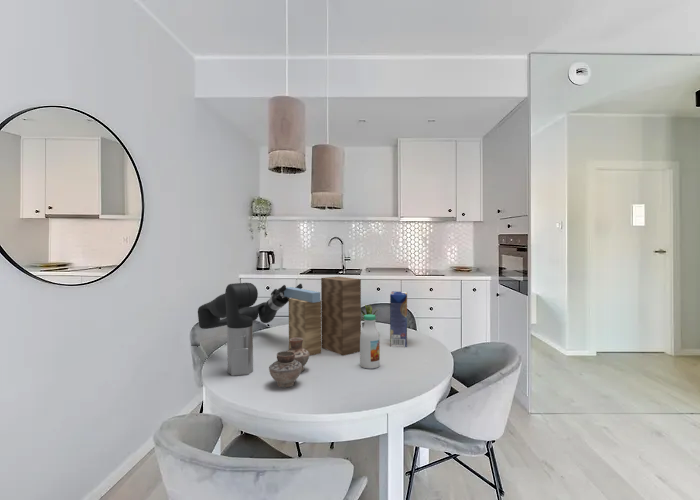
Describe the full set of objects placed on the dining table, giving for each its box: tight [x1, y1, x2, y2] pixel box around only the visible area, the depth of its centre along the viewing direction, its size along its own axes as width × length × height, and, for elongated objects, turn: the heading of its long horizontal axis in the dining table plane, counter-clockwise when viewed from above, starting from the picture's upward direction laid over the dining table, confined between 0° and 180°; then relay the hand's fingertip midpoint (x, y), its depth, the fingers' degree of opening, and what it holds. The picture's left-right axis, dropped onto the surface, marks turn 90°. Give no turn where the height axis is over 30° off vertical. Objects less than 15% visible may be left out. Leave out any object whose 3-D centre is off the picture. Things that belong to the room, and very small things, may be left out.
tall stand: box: [320, 276, 362, 356], centre depth 175 cm, size 16×10×32 cm, turn 39°
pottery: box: [268, 338, 310, 388], centre depth 140 cm, size 11×25×12 cm, turn 174°
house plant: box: [361, 304, 380, 329], centre depth 202 cm, size 14×14×16 cm
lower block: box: [288, 298, 322, 357], centre depth 173 cm, size 14×8×23 cm, turn 39°
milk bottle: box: [359, 313, 381, 370], centre depth 152 cm, size 8×8×20 cm
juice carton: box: [389, 291, 408, 348], centre depth 185 cm, size 12×8×24 cm, turn 170°
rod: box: [284, 286, 321, 303], centre depth 174 cm, size 24×4×4 cm, turn 39°
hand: (293, 286), depth 180 cm, fingers open, 8 cm apart
